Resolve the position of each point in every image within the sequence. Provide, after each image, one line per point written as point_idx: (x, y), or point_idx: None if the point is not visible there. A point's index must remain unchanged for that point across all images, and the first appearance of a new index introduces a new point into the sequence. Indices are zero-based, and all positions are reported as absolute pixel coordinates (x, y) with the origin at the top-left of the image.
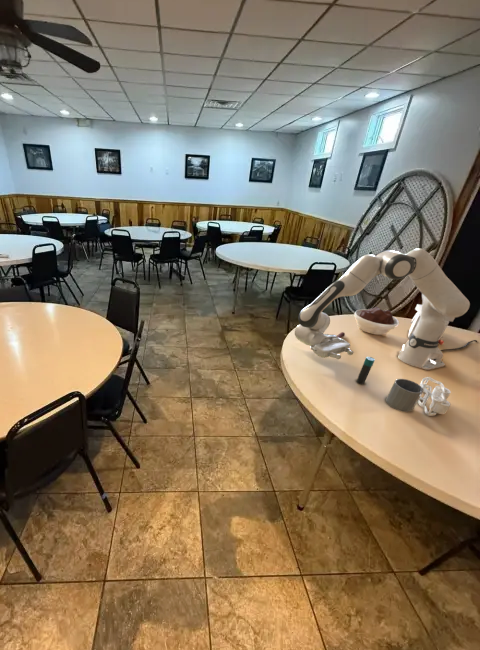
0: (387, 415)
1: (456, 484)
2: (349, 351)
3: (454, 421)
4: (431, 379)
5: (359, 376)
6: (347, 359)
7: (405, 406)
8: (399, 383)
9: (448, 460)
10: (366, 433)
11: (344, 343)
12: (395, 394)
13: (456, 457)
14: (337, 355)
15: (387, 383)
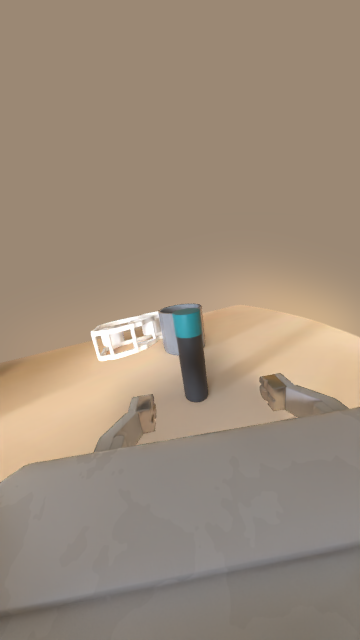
0: (230, 335)
1: (236, 307)
2: (151, 405)
3: None
4: (96, 330)
5: (205, 375)
6: None
7: None
8: (172, 322)
9: (219, 313)
10: (290, 323)
11: (41, 507)
12: (202, 322)
13: (208, 315)
14: (287, 379)
15: (128, 380)
